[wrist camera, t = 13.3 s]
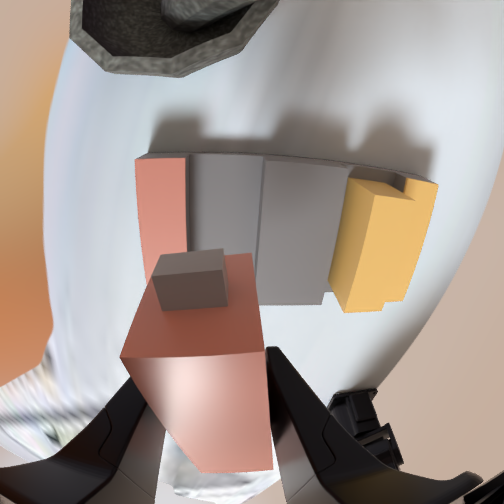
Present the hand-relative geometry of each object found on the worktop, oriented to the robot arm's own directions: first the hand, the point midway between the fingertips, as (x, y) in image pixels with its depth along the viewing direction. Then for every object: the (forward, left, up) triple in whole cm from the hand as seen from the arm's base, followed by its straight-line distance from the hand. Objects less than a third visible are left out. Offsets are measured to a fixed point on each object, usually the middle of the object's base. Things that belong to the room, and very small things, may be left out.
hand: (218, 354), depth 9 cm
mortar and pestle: (+14, +2, -12) cm, 19 cm away
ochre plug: (0, -9, -11) cm, 14 cm away
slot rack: (0, -5, -12) cm, 13 cm away
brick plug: (-1, 0, -1) cm, 1 cm away
